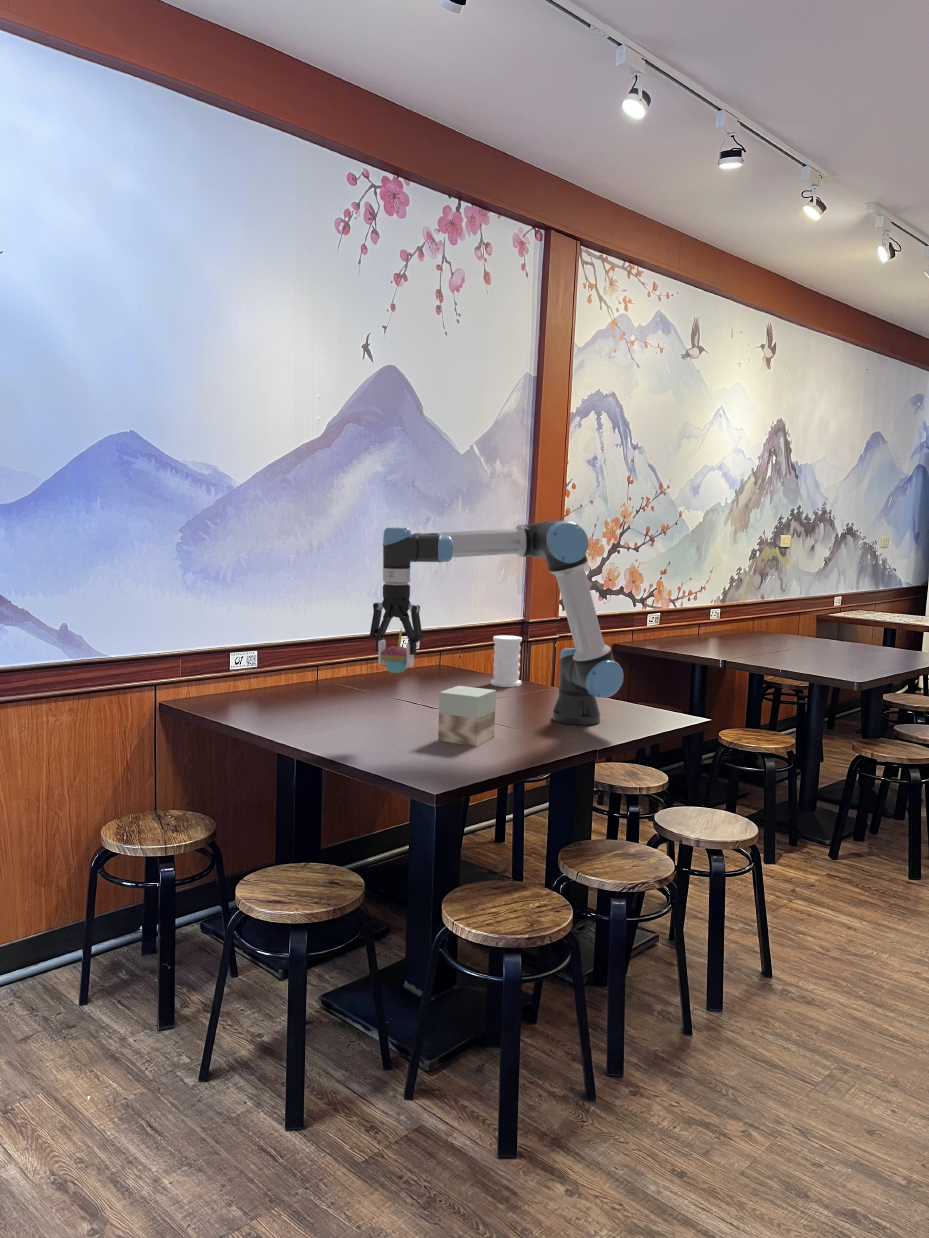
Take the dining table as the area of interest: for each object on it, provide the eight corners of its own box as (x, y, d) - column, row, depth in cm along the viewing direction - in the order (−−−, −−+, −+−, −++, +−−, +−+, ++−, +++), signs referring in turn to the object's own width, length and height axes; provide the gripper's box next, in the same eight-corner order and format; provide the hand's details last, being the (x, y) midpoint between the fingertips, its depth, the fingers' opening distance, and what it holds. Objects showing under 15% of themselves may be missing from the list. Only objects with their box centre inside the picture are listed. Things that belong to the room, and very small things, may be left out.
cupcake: (395, 667, 263) (395, 626, 261) (417, 671, 257) (418, 628, 256) (374, 671, 256) (374, 628, 255) (396, 675, 251) (396, 631, 249)
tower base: (494, 737, 265) (495, 710, 264) (476, 746, 254) (477, 718, 254) (456, 732, 270) (457, 705, 269) (438, 741, 260) (438, 713, 259)
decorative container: (487, 681, 354) (489, 635, 352) (517, 681, 356) (518, 635, 354) (494, 687, 343) (495, 639, 341) (524, 687, 345) (526, 639, 343)
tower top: (495, 710, 264) (496, 690, 264) (477, 718, 253) (478, 696, 253) (458, 705, 269) (458, 685, 269) (438, 713, 259) (439, 692, 258)
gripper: (356, 582, 255) (356, 663, 258) (423, 586, 246) (422, 670, 249) (370, 580, 262) (370, 659, 264) (436, 584, 253) (435, 666, 255)
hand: (395, 664), depth 257 cm, fingers closed on cupcake, 8 cm apart
